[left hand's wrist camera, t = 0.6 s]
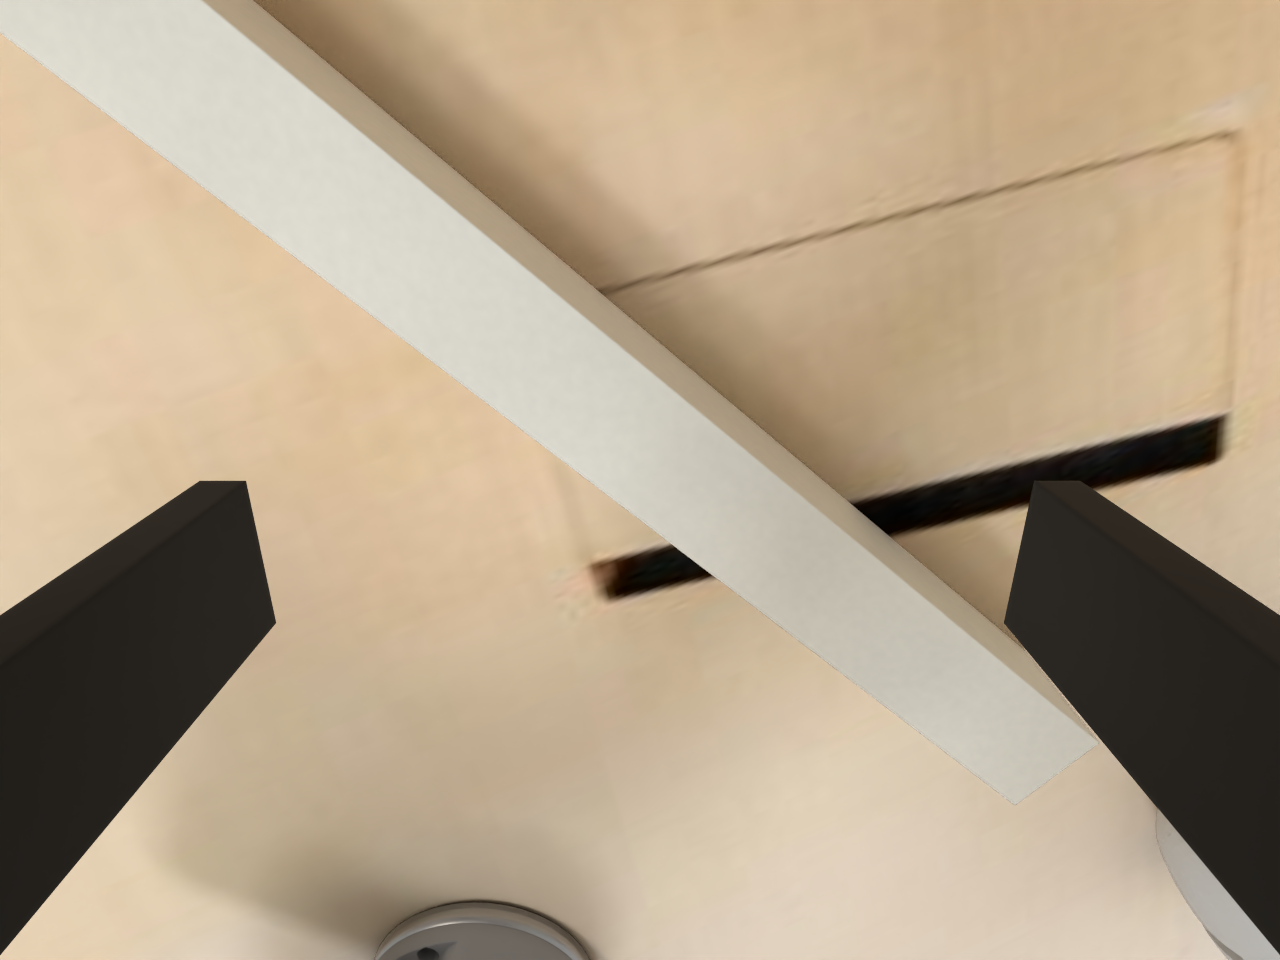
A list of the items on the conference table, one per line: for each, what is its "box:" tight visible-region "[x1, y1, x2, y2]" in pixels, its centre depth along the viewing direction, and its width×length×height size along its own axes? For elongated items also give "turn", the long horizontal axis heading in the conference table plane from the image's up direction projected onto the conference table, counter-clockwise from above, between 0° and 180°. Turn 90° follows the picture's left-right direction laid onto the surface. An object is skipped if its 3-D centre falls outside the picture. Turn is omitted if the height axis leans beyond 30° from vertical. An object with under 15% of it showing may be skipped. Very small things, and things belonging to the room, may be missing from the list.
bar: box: [0, 0, 1099, 805], centre depth 29 cm, size 76×5×7 cm, turn 50°
